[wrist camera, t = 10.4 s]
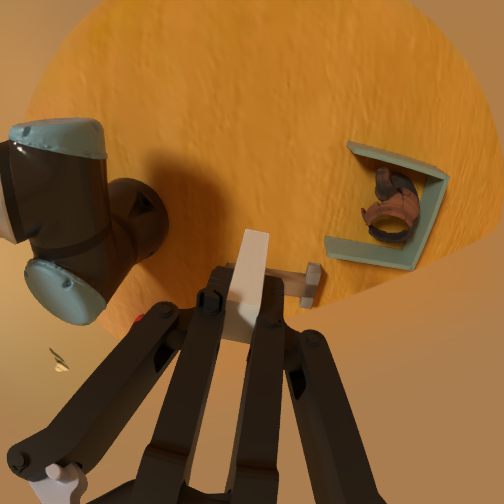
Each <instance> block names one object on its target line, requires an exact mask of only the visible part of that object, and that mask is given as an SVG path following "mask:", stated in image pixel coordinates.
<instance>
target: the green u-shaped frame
mask: <svg viewBox="0 0 504 504" xmlns="http://www.w3.org/2000/svg"><path fill="white" fill-rule="evenodd" d="M347 147H348V148H349V149H350V150H351V151H352V152H353V153H354V154H358V155H362V156H366V157H370V158H374V159H378V160H382V161H385V162H389V163H393V164H396V165H400V166H403V167H406V168H410V169H413V170H416V171H419V172H422V173H425V174H428V178H427V181H426V184H425V187H424V191H423V194H422V197H421V200H420V203H419V206H420V209H419V214H418V216H417V217H416V218H415V219H414V220H413V221H416V219H418V223H417V225H416V226H415V228H414V231H413V234H412V236H411V237H410V238H408V239H407V240H406V241H405V243H404V246H403V248H402V250H399V249H394V248H389V247H384V246H378V245H373V244H368V243H362V242H357V241H351V240H345V239H340V238H334V237H328V236H325V238H324V243H325V248H326V254H327V257H330V258H336V259H342V260H349V261H355V262H361V263H367V264H373V265H379V266H385V267H391V268H397V269H403V270H409V271H413V270H414V268H415V266H416V264H417V262H418V259H419V257H420V255H421V253H422V250H423V248H424V246H425V243H426V241H427V239H428V236H429V234H430V231H431V229H432V226H433V224H434V221H435V218H436V216H437V213H438V210H439V208H440V205H441V202H442V199H443V196H444V193H445V190H446V187H447V184H448V181H449V178H450V176H449V175H447V174H446V173H444V172H443V171H441V170H440V169H439V168H437V167H435V166H433V165H430V164H427V163H424V162H421V161H418V160H415V159H412V158H409V157H406V156H403V155H399V154H396V153H393V152H389V151H386V150H382V149H378V148H375V147H371V146H367V145H363V144H359V143H355V142H351V141H348V142H347Z"/></svg>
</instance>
